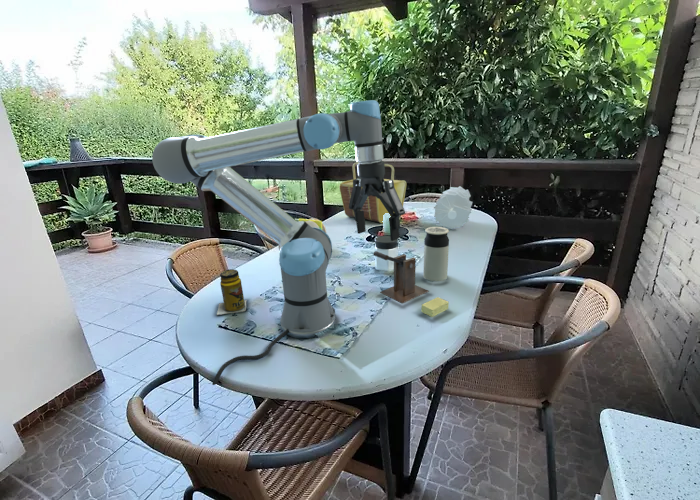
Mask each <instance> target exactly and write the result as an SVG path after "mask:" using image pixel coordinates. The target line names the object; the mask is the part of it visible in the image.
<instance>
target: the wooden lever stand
mask: <svg viewBox="0 0 700 500" xmlns="http://www.w3.org/2000/svg"><path fill="white" fill-rule="evenodd" d="M394 258H395V259H398V260H400V258H403V259H406V260H405V261H403V267H401V266H399V265H398V264H399V263H397V262H394V270H393V286H391V287H388V288H385V289H384V290H381V291H379V293H380V294H382V295H384V296H386V297H388V298H390V299H392V300H394V301H396V302H398V303H400V304H402V305H403V304H405V303H407V302H409V301H411V300H413V299H415V298H417V297H420V296H422V295H424V294H427V293H429V292H430V290H428V289H426V288H424V287H421V286H419V285H416V262H417V261H416V260H417V259H416V257H411V258H408V259H407V254H405V253H403V254H400V255H398V256H397V257H394Z"/></svg>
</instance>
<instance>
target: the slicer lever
mask: <svg viewBox="0 0 700 500" xmlns="http://www.w3.org/2000/svg"><path fill="white" fill-rule="evenodd" d="M372 254H373V257H375V256H376V257H379V258H381V259H384V260H390V261H393V262H397V263H399V264H398V265H399V266H401V267H403V261H405V260H407V258H406V259H403V258H400V260H398V259H395V258H392V257H389V256H388V255H385V254H382V253H380V252H377V251H375V250H374V251H373V253H372Z"/></svg>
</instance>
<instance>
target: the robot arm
mask: <svg viewBox="0 0 700 500" xmlns="http://www.w3.org/2000/svg"><path fill="white" fill-rule="evenodd" d="M382 129H383V128H382V117H381V110H380V104H379V102H378V101H377V100H375V99H373V100H372V99H370V100H361V101H355V102H351V103H350V107H349V111H348V110H346V111H343V112H335V113H334V112H333V113H324V112H320V113H315V114H313V115H308V116H304V117H300V118H294V119H290V120H285V121H280V122H276V123H271V124H267V125H261V126H257V127H252V128H247V129H242V130H238V131H233V132H228V133H223V134H219V135H215V136H214V135H213V136H209V137H208V136H205V135H201V134H187V135H183V136H172V137H168V138H165V139H163V140H161V141H160V142H158V143H157V144H156V146H155V147H154V149H153V151H152V156H151V157H152V158H151V160H152V165H153V167H154V170H155V171H156V173H157V174H158V175H159V176H160V177H161V178H162V179H164V180H165V181H167V182H170V183H173V184H186V183H190V182H191V183H192V184H193V185H194V186H196V187H197V188H199V189H200V190H201V191H202V192H212V193H213V194H214V195H216V196H217V197H219V198H220V199H221V200H222V201H223V202H224V203H226V204H227V205H229V206H230V207H231V208H233V209H234V210H235V211H236V212H237V213H238V214H240V215H241V216H242V217H244V218H245V219H247V220H248V221H249V222H250V223H251V224H253V225H254V226H256V228H258V229H259V230H260V231H262V232H263V233H264V234H266V235H267V236H268V237H269V238H271V239H272V240H273V241H274V242H276V243H277V245H278V251H279V257H278V258H279V259H278V263H279V267H280V273H281V282H282V283H281V284H282V290H283V299H284V303H283V307H282V312H281V316H280V320H279V321H280V328H281V329H280V330H281V331H282V332H281V333H280V334H279V335H278V336H276V337H275V338H274V339H273V340H272V341H271V342H270V343H269V344H268V346H267V347H266V349H265V350H264V351H263V352H262V353H259V354H257V355H256V354H255V355H237V356H235V357H233V358H231V359H229V360H227V361H226V362H224V363H223V364H222V365H221V366H220V367H219V369H218V371H217V372H216V374H215V376H214V378H213V381H212V383H211V385H212V386H215V385H217V384H218V382H219V380H220V378H221V375H222V374H223V372H224V370H225V369H226V368H228V366H230V365H232V364H234V363H237V362H239V361H256V360H260V359H263V358H265V357H266V356H268V355H269V353H270V351H271V350H272V348H273V347H274V346H275V345H276V344H277V343H278V342H279V341H280V340H281V339H283V338H284V337H286V336H289V337H291V338H295V339H312V338H317V337H318V335H317V334H319V333H322V332H324V331H327V330H328V329H329V328H331V327H332V326H333V325H334V323H335V322H336V309H335V308H334V307H333V305H332V304H331V302H330V299H329V297H328V290H327V287H328V286H327V270H328V265H329V262H330V260H331V258H332V255H333V244H332V240H331V237H330V236H329V234H328V233H327V231H326V232H324V231H323V230H321V229H319V228H312V227H311V226H310V225H309V224H307V223H306V222H305V221H299V220H296V219H294V217H292V216H291V215H289V214H288V212H286V211H285V210H284V209H282V208H281V207H280V206H279V205H277V204H276V203H275V202H274V201H272V200H271V199H270V198H269V197H267V196H266V195H265V194H264V193H263V192H262V191H260V190H259V189H258V188H256V187H255V186H254V185H253V184H252V183H250V182H249V181H248V180H247V179H246V178H244V177H243V176H242V175H240V174H239V173H238V172H237V171H235V170H234V169H233V168H232V167H236V166H239V165H245V164H250V163H254V162H259V161H265V160H269V159H274V158H279V157H284V156H290V155H293V154H294V155H295V154H299V153H305V152H311V151H315V150H325V149H329V148H331V147H333V146H334V145H335V144H340V143H347V142H348V143H349V142H354V151H355V161H356V163H357V162H359V164H356V169H357V171H356V172H357V177H356V179H354V178H353V179H354V180H353V179H352V180H353V189H352V194H351V198H350V203H349V209H352V210H353V212H354V214H355V217H354V220H355V223H356V230H357V234H362V233H365V232H367V230H366V228H367V227H366V221H365V220H366V219H364V211H360V210H362V207H363V205H364V203H365V201H366V199H367V198H368V196H376V197H377V198H378V199H380V201H381V202H382V204H383V205H384V207H385V208H386V210H387V211H388V213H389V214H390V216H391V217H390V218H389V221H388V223H389V225H388V226H389V236H390V237H391V241H394V240H396V239H397V240H398V239H400V227H401V223H400V217H401V216H403V215H405V214H406V210H405V208H404V205H403V206H402V203H401V201H400V199H399V197H398V194H397V192H396V190H395V187H394V181H393V180H392V179H391V178H390V179H389V180H388V181H385V180H384V179H385V178H384V177H385V175H386V166H385V164H386V163H385V161H384V158H385V156H384V144H383V143H384V142H383V133H382V132H383V131H382ZM361 188H362V190H361ZM353 203H354V204H353ZM399 210H400V211H399Z"/></svg>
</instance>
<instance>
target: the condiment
mask: <svg viewBox="0 0 700 500" xmlns="http://www.w3.org/2000/svg"><path fill="white" fill-rule="evenodd" d="M219 276H220V283H219V284H220V290H221V295H222V301H223V302H220V303H218V307H217V312H216V316H219V315H227V314H235V313H243V312H246V311H247V299H245V297H244V291H243V285H242V279H241V278H240V274H239V271H238V270H237V269H233V268H231V269H225V270H223V271H221V272H220V274H219Z"/></svg>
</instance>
